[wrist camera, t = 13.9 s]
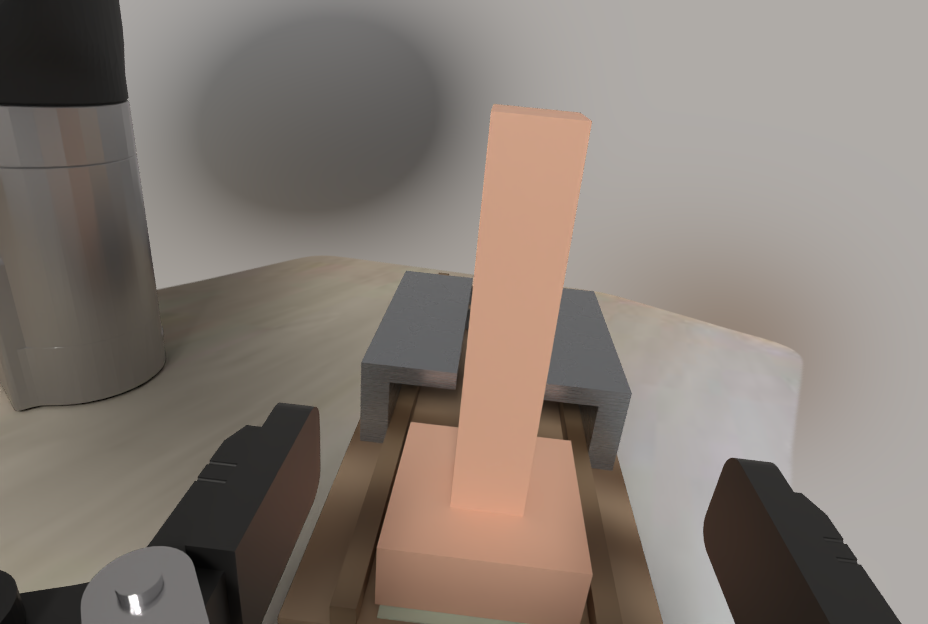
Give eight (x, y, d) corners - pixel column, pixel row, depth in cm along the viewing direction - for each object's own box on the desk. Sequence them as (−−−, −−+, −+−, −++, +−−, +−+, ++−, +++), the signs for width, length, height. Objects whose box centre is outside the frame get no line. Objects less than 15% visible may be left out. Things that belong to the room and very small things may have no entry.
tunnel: (612, 470, 31) (631, 393, 29) (360, 440, 31) (361, 362, 29) (582, 351, 44) (594, 291, 42) (403, 330, 44) (405, 270, 42)
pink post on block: (578, 630, 22) (703, 140, 14) (374, 603, 22) (392, 109, 15) (561, 488, 29) (638, 113, 22) (407, 469, 29) (430, 92, 22)
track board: (665, 694, 22) (682, 650, 21) (279, 643, 22) (276, 598, 21) (571, 311, 54) (575, 287, 53) (416, 294, 55) (417, 270, 54)
